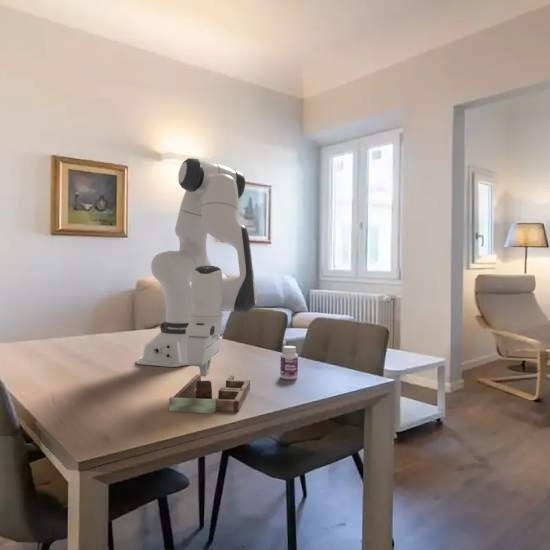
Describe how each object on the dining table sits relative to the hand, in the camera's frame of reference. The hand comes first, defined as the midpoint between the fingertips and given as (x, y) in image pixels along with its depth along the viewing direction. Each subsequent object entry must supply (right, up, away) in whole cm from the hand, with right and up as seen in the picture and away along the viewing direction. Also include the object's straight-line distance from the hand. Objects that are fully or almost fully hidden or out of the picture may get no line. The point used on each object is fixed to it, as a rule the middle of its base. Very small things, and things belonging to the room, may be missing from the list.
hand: (204, 375), depth 128 cm
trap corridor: (+4, -5, -5) cm, 8 cm away
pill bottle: (+24, -4, +16) cm, 29 cm away
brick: (+1, -5, -11) cm, 12 cm away
